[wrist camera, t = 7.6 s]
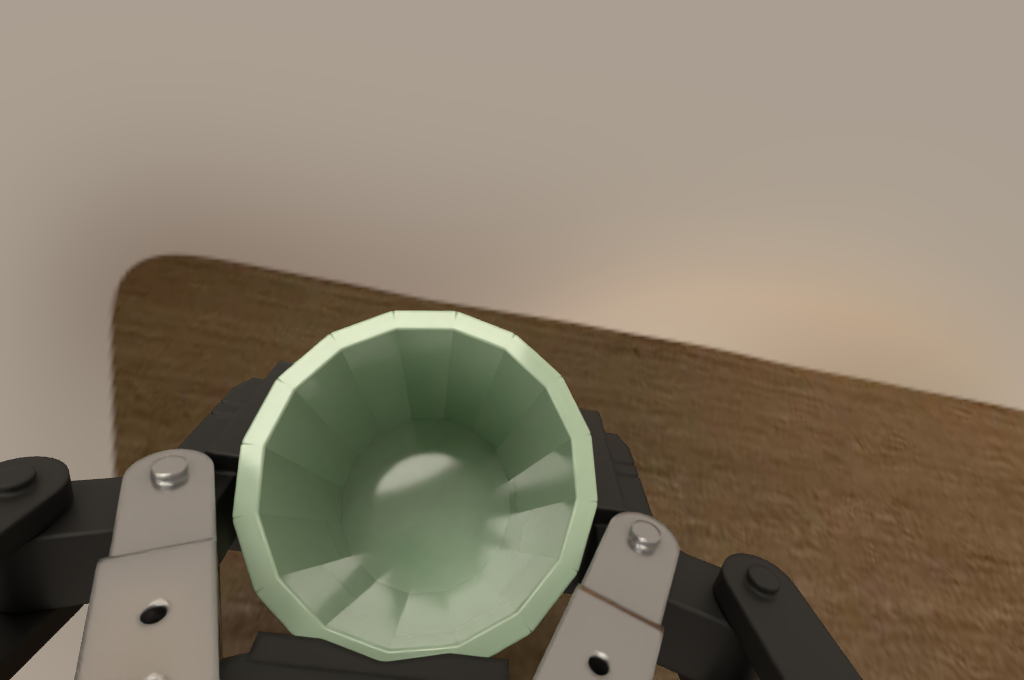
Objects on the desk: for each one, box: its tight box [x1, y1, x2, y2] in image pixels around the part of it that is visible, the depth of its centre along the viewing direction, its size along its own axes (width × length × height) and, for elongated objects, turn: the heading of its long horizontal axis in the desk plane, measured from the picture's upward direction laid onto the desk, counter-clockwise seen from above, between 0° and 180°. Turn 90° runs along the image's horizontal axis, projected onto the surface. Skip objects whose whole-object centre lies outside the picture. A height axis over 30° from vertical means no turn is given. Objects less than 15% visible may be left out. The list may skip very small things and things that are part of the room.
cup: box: [232, 311, 598, 661], centre depth 13 cm, size 6×6×9 cm
